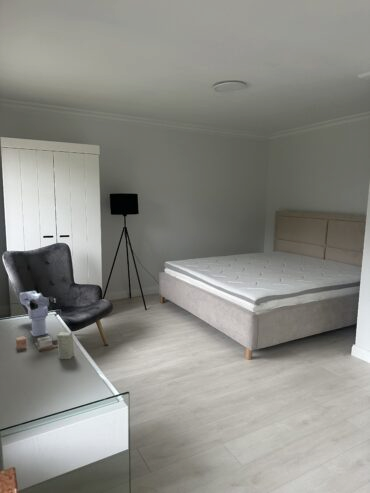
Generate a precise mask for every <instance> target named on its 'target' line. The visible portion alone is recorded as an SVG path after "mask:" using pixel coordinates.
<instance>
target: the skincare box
mask: <svg viewBox="0 0 370 493" xmlns="http://www.w3.org/2000/svg"><path fill="white" fill-rule="evenodd" d="M56 338H57V342H58V347H57V353H58V359H63V360H65V359H66V360H68V359H69V360H71V359H72V358H73V356H74V355H75V352H74V351H75V350H74V338H73V332H72V331H60V332H59V333H58V334H56Z"/></svg>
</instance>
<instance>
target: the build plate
mask: <svg viewBox="0 0 370 493" xmlns="http://www.w3.org/2000/svg"><path fill="white" fill-rule="evenodd" d="M34 345H35V347H36V349H37V351H38V352H43V351H47V350H52V349H56V348H57V349H58V342H57V337H51V336H50V335H47V336H44V337H39V338H37V342H35V343H34Z"/></svg>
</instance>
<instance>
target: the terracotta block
mask: <svg viewBox="0 0 370 493" xmlns="http://www.w3.org/2000/svg"><path fill="white" fill-rule="evenodd" d="M15 340H16V343H15V344H16V348H17V351H18V350H22V349H27V338H26V337H25V336H23V335H22V336H19V337H16V338H15Z"/></svg>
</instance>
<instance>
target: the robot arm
mask: <svg viewBox="0 0 370 493" xmlns="http://www.w3.org/2000/svg"><path fill="white" fill-rule="evenodd" d="M18 296H19V302H20V304H21V305H23V306H25V307H26V309H27V315H28V319H30V320H31V330H30V331H29V332H30V333H31V335H32V337H38V336H39V337H40V336H42V335H48V334H49V332H48V330H47V326H46V324H47V323H46V321H47V320H46V319H47V317H48V315H49V309H48V306H49V308H51V307H54V306H55V303H57V301H56V300H57V299H56V298H54V296H48V297H45V296H43V294H42V292H39V293H38V292H37V291H36V290H30V291H23V292H20V293H19V294H18Z"/></svg>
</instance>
